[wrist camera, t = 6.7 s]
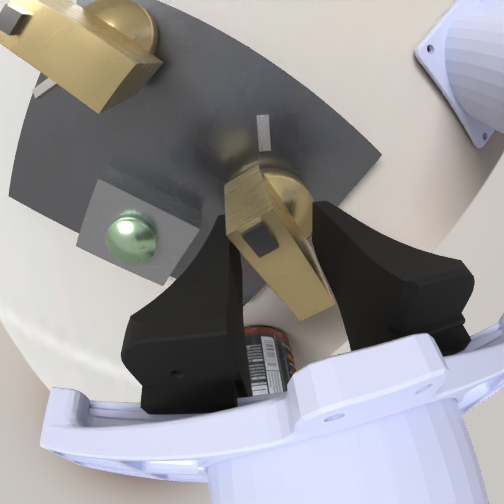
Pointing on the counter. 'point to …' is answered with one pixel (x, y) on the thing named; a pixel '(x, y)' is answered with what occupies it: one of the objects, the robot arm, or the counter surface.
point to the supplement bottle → (268, 360)
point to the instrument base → (178, 149)
